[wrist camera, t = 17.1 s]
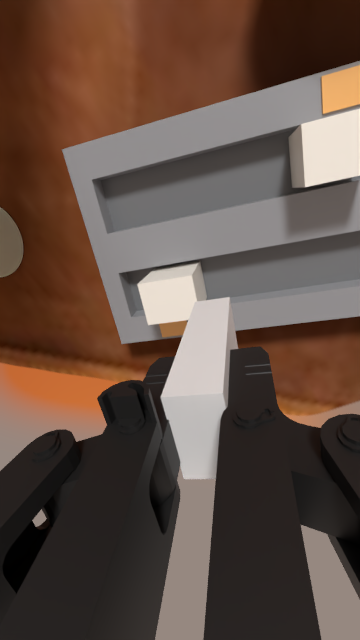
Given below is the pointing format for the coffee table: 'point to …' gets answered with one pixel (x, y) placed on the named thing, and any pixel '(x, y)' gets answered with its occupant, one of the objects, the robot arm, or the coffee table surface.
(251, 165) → the switch bank
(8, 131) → the coffee table surface
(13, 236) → the can
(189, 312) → the tab
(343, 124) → the tab
